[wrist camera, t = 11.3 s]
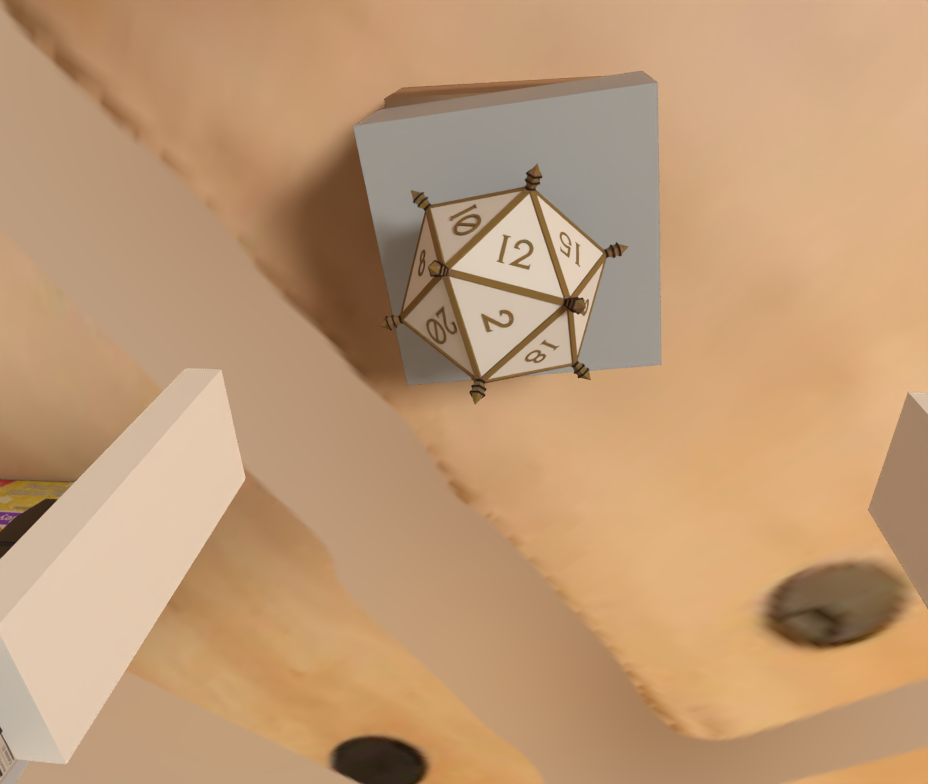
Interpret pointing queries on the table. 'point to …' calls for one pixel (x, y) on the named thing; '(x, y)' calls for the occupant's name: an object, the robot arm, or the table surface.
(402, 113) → the tower top
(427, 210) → the game die
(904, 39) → the table surface
